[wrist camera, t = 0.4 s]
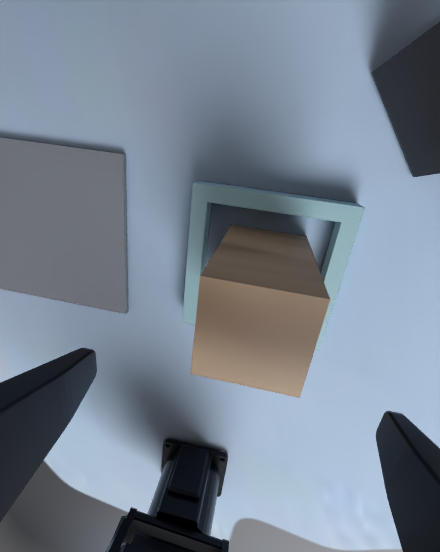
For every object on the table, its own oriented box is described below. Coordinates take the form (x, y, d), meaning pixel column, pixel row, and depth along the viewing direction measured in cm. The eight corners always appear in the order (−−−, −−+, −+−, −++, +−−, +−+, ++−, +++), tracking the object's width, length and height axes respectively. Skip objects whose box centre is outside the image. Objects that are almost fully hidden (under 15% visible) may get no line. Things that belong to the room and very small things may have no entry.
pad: (128, 311, 24) (125, 313, 23) (-2, 285, 25) (-6, 287, 25) (125, 154, 19) (122, 154, 18) (-36, 132, 20) (-42, 131, 20)
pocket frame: (316, 337, 22) (319, 350, 20) (187, 312, 23) (182, 322, 21) (357, 203, 18) (364, 207, 16) (198, 180, 19) (192, 182, 17)
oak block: (290, 302, 21) (299, 397, 13) (222, 289, 21) (190, 373, 13) (306, 236, 19) (330, 299, 11) (231, 224, 19) (200, 276, 11)
